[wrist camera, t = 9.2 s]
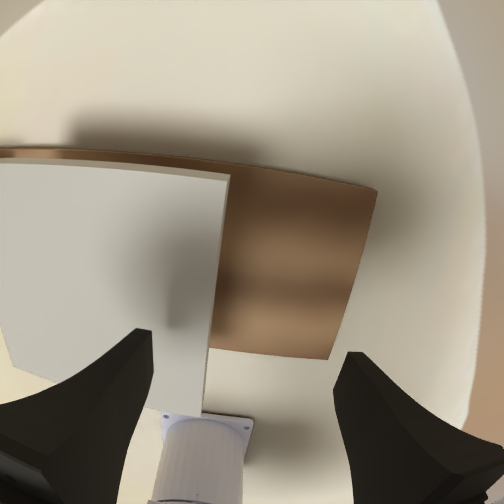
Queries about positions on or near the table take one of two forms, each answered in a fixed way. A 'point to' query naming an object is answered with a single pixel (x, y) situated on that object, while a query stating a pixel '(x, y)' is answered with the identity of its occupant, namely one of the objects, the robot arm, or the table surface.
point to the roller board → (272, 252)
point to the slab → (110, 268)
